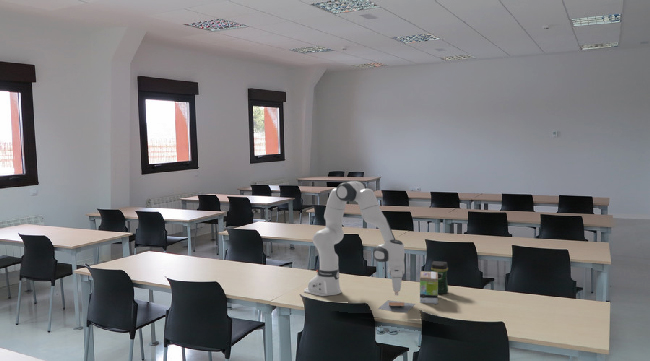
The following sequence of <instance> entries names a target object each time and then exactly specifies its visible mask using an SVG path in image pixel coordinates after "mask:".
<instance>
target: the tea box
mask: <svg viewBox="0 0 650 361" xmlns="http://www.w3.org/2000/svg"><path fill="white" fill-rule="evenodd" d="M438 296H439V294H438V272H432V271H426V270H424V271H423V270H421V271H420V277H419V303H420V304H421V303H423V304H424V303H425V304H433V305H438V298H439V297H438Z"/></svg>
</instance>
